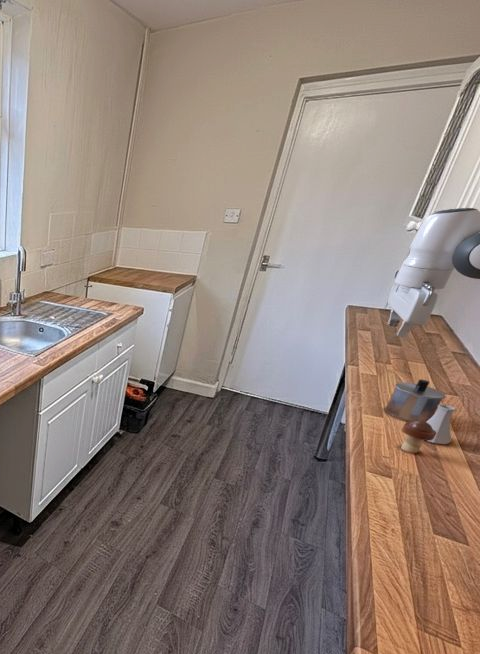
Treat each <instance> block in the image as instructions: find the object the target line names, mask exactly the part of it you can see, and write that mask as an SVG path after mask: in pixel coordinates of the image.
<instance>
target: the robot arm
mask: <svg viewBox="0 0 480 654" xmlns="http://www.w3.org/2000/svg"><path fill="white" fill-rule="evenodd" d="M454 269H455V271H457V272H458V273H459V274H461V275H462V276H464V277H467V278H469V279H474V280H480V210H479V209H478V208H474V207H461V208H460V207H459V208H447V209H442V210H438V211H436V212H435V211H434V212H433V213H431V214H430V215H428V216H427V217H426V218H425V219H424V220H423V222H422V223H421V225H420V226H419V228H418V229H417V232H416V234H415V235H414V237H413V240H412V241H411V243H410V247H409V253H408V255H407V257H406V258H405V259H404V260H403V262H402V263H401V265H400V268H398V269H396V271H395V272H394V275H393V278H394V281H393V283H392V286H391V289H390V292H389V295H388V297H387V305H388V306H389V307H390V308H391V309H390V314H389V319H388V320H387V321H388V322H387V325H388V326H389V327H395V328H396V327H398V326H399V324H400V323H401V319H402V324H401V325H400V328H398V329H397V331H396V336H397V337H398V338H403V339H404V338H407V337H408V336H409V334H410V332H411V331H412V330H413V329H414V328H415V327H416V325H418V326H424V325H425V324H427V322H428V321H429V319H430V317H431V315H432V313H433V311H434V308H435V307H436V303H437V300H438V294H437V292H435V291H436V290H443V289H444V288H445V287H446V285H447V283H448V280H449V279H450V277H451V275H452V273H453V271H454Z"/></svg>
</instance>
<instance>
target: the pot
mask: <svg viewBox="0 0 480 654" xmlns="http://www.w3.org/2000/svg"><path fill="white" fill-rule="evenodd" d="M442 401H443V399H428V398H422V397H418V396H414V395H410V394H407V393H405V392H402V391H400V390H398V389H397V388H396V387H395V386H394V390H393V392H392V394H391V396H390V398H389V400H388V403H387V405H386V407H385V411H384V412H386V413H387V414H388V415H389V416H391V417H393V418H395V419H397V420H398V419H399V420H401V421H404V422H407V423H412V422H414V421H424V422H427V421H428V420H429V419H430V418H432V416H433V415H434V414H435V413H436V412H437V410H438V405H440V404H441V403H442Z"/></svg>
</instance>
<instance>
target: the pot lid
mask: <svg viewBox="0 0 480 654" xmlns="http://www.w3.org/2000/svg"><path fill="white" fill-rule="evenodd" d="M429 384H430V381H429V380H426V379H418V381H417V383H412V382H396V383H395V384H394V388H395V387H396V388H397V389H398V390H400V391H402V392H405V393H407V394H410V395H414V396H418V397H422V398H428V399H442V400H443V399H444V400H445V398H446V393H444V392H442V391H440V390H438V389H436V388H434V387H430V386H429Z"/></svg>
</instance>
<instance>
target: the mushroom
mask: <svg viewBox="0 0 480 654" xmlns="http://www.w3.org/2000/svg"><path fill="white" fill-rule="evenodd" d="M401 432H402V433H404V434H405V435H406V437H405V438H404V440H403V442H402V445H401V447H400V449H401V450H402V451H404V452H407V453H409V454H418V452H419V451H420V449H421V447H422V445H423V443H424V442H425V441H427V440H433V439H434V437H435V435H436V431H435V430H433V429H432V427H431V425H430V424H428V423H427V422H424V421H414V422H406V423H404V424H403V426H402V428H401Z"/></svg>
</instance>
